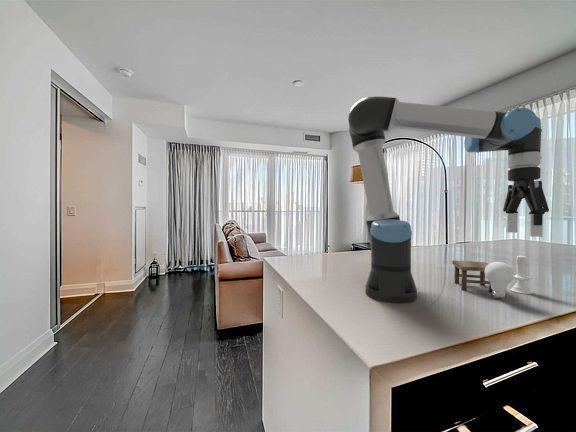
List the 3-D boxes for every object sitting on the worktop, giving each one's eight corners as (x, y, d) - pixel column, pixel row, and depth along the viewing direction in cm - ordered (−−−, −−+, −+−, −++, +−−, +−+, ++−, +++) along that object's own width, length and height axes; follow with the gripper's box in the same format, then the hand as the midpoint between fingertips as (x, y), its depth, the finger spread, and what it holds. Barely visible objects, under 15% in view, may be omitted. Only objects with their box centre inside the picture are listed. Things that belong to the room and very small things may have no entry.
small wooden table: (461, 290, 81) (461, 266, 81) (452, 282, 90) (452, 260, 90) (498, 293, 78) (498, 268, 77) (485, 284, 87) (485, 262, 87)
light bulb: (508, 296, 75) (508, 260, 75) (517, 304, 69) (518, 265, 69) (481, 293, 78) (481, 259, 78) (488, 300, 72) (488, 263, 72)
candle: (507, 288, 83) (507, 252, 83) (527, 290, 81) (528, 253, 81) (514, 293, 78) (515, 255, 78) (536, 295, 76) (537, 256, 76)
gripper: (567, 159, 66) (566, 239, 66) (517, 172, 89) (516, 231, 90) (532, 161, 68) (530, 238, 69) (492, 173, 92) (491, 230, 92)
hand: (522, 234), depth 79 cm, fingers open, 13 cm apart
